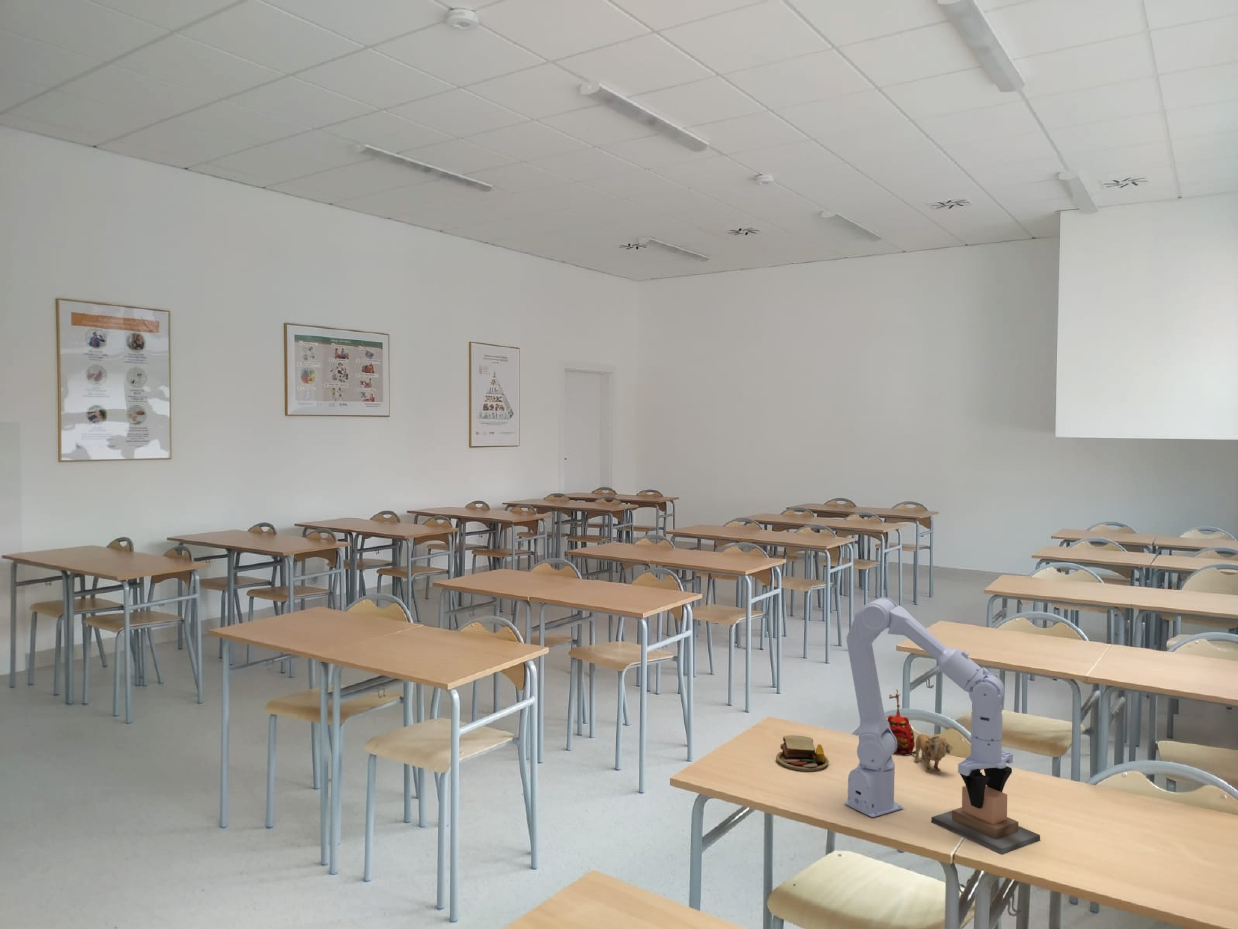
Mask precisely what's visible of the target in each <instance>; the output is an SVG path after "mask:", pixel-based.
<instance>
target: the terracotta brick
mask: <svg viewBox="0 0 1238 929" xmlns="http://www.w3.org/2000/svg"><path fill="white" fill-rule="evenodd" d="M961 807H962V811H963V812H965V813H968V814H970V815H972V816H974V817H977V818H979V819H981V820H984V821H986V822H988V823H990V824H995V823H998V822H1001V821H1004V820H1007V817H1008V793H1005V792H1003V791H1002V792H1000V791H998V790H995V789H992V788H990V787H987V785H986V788H985V792H984V800H983V806H982V808H981V809H979V808H976V807H974V806H972V805H971V803H970V799H969V794H968V791H967V788H966V785H964V786H961Z"/></svg>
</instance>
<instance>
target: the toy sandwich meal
mask: <svg viewBox="0 0 1238 929" xmlns="http://www.w3.org/2000/svg"><path fill="white" fill-rule="evenodd" d="M782 741H783V743H781V744H780V749H781V750H782V751H781V752H778V753H777V754H776V755H775V756H776V757H775V758H776V760H777V762H778V763H779V764H780V765H781V764H782V766H783V767H784V768H787V769H791V770H794V771H800V772H815V771H820V770H822V769H823V770H824V768H825V767H827V766H828V765H829V764H830V761H829V759H828V757H827V756H826V755H825V751H824V748H823V746H822V744H817V747H816V748H815V745H814V738H811V737H809V736H804V735H795V734H794V735H783V737H782Z"/></svg>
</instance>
